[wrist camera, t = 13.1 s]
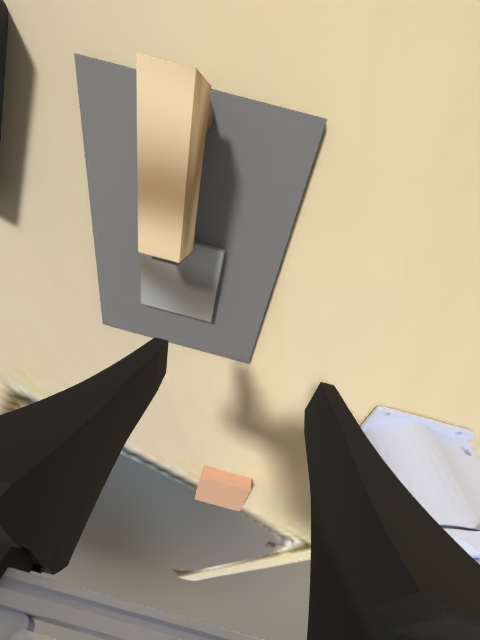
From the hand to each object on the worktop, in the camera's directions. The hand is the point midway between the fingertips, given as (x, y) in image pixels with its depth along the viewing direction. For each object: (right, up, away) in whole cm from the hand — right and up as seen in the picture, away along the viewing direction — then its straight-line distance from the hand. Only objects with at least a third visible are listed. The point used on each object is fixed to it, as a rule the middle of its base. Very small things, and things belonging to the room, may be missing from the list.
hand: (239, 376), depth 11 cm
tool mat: (-4, +8, +7) cm, 11 cm away
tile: (-2, -19, +22) cm, 29 cm away
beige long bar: (-4, +10, +5) cm, 12 cm away
